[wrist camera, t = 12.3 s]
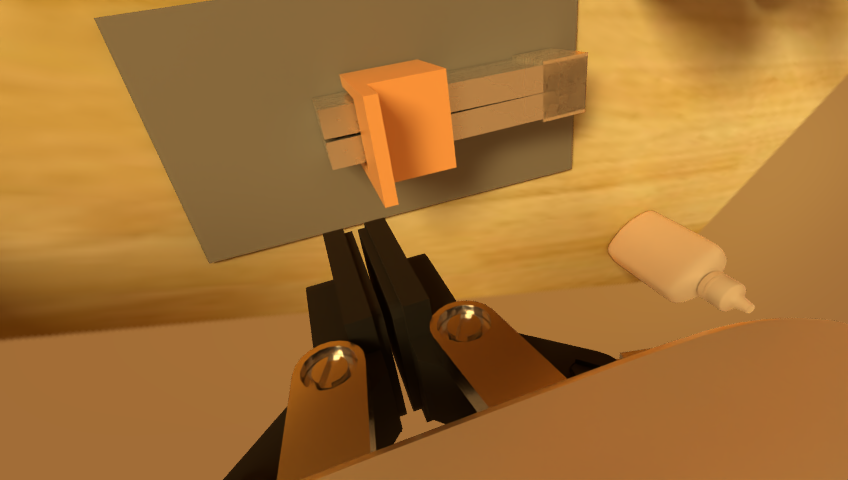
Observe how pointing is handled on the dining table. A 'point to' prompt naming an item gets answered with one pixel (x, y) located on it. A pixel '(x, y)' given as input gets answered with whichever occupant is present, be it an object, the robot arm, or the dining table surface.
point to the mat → (294, 110)
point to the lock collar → (402, 122)
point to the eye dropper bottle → (677, 262)
